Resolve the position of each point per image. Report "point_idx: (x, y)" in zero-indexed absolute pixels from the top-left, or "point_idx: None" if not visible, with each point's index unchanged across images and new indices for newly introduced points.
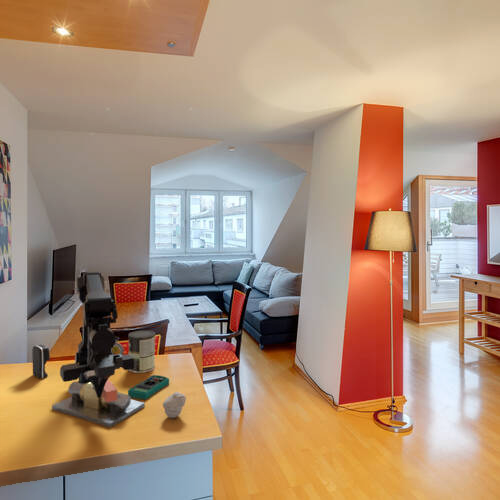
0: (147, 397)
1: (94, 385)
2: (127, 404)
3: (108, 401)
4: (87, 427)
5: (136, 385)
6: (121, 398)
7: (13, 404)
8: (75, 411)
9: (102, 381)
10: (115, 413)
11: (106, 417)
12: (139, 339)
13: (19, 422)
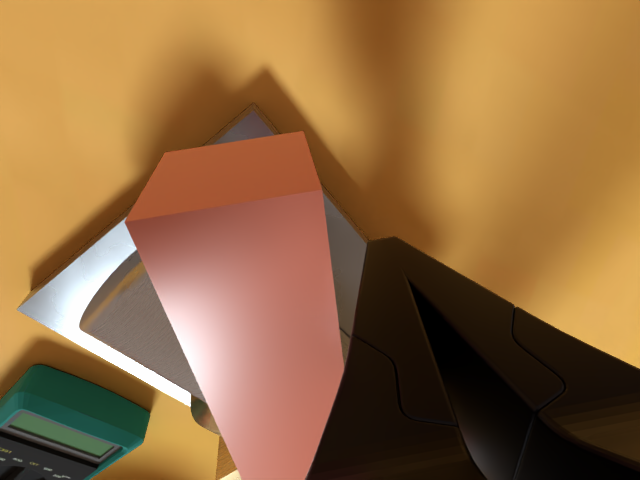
0: (23, 376)
1: (572, 336)
2: (118, 272)
3: (279, 137)
4: (388, 169)
5: (95, 473)
6: (149, 297)
7: None
8: None
9: (433, 413)
10: None
11: None
12: None
13: (620, 321)
